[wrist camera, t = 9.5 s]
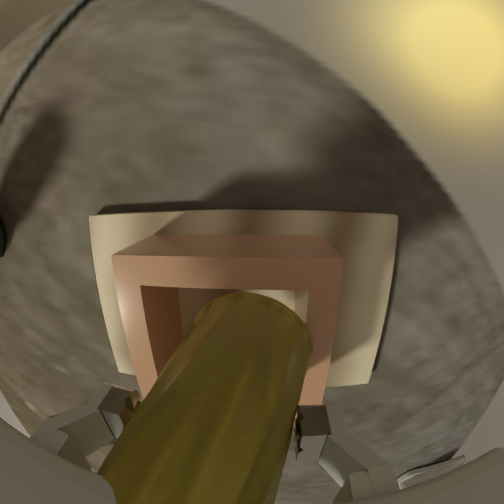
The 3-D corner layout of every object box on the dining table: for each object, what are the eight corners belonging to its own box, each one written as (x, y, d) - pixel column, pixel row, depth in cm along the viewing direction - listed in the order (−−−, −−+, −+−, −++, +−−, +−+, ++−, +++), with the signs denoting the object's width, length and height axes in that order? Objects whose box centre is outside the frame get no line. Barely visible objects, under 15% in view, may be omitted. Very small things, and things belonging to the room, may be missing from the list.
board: (392, 213, 17) (398, 215, 16) (364, 376, 20) (368, 383, 20) (96, 214, 18) (88, 216, 17) (123, 365, 22) (119, 371, 21)
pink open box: (320, 235, 17) (343, 258, 12) (307, 374, 19) (316, 425, 14) (153, 234, 17) (111, 255, 12) (171, 368, 20) (148, 413, 15)
